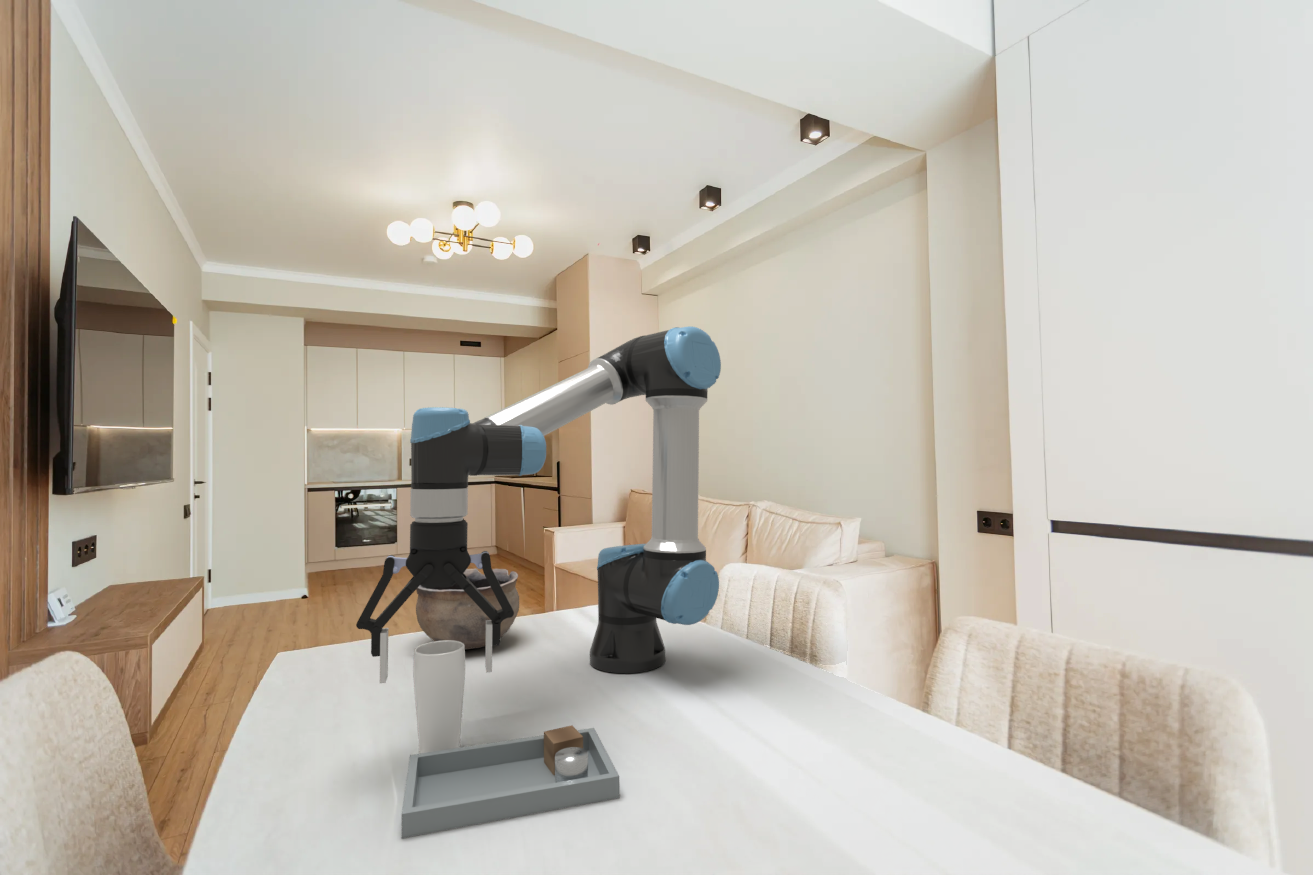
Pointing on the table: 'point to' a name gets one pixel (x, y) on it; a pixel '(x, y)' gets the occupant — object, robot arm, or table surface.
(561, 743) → the walnut cube
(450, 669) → the drinking glass
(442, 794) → the collection tray
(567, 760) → the metal cylinder
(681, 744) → the table surface
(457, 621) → the ceramic bowl
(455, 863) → the table surface
